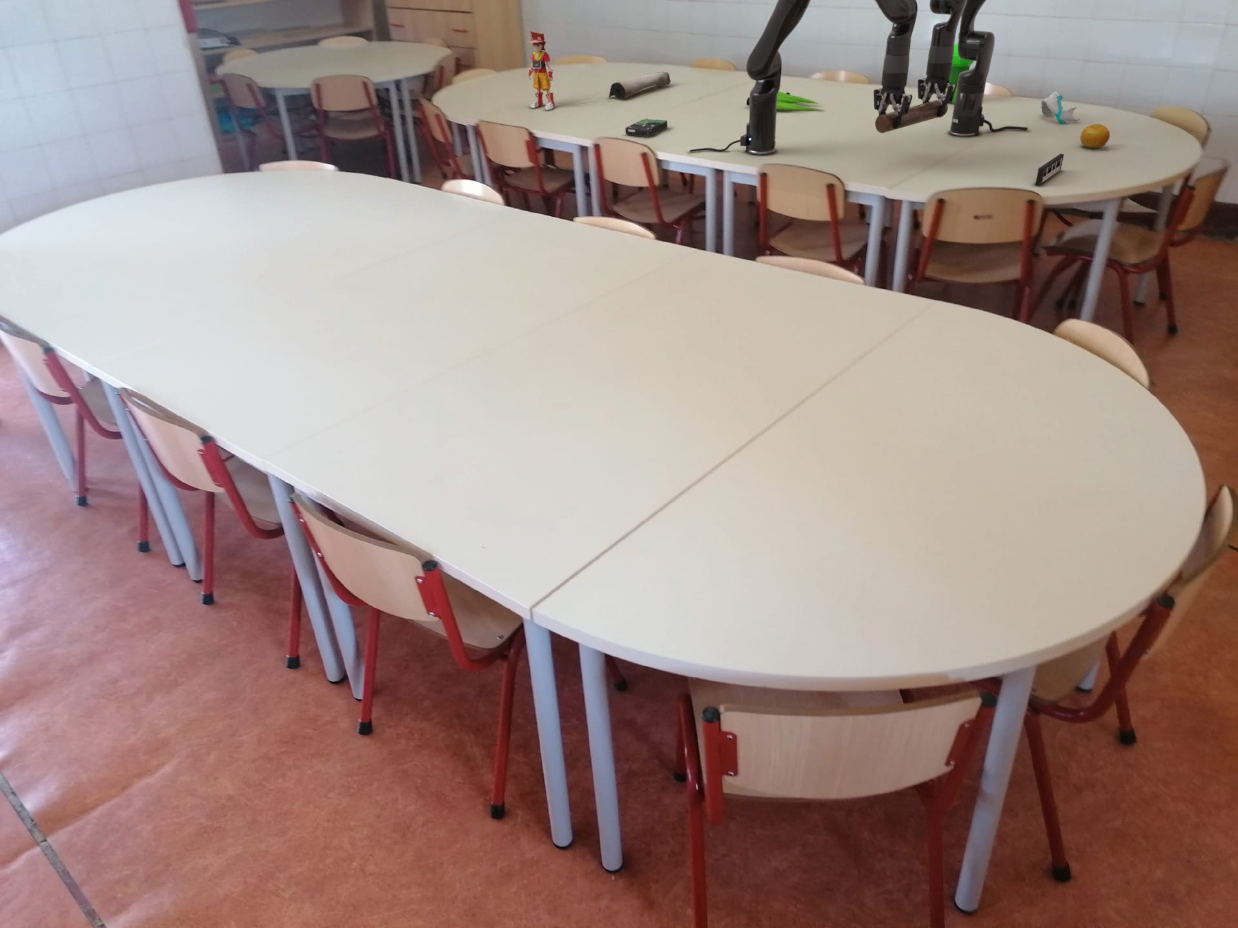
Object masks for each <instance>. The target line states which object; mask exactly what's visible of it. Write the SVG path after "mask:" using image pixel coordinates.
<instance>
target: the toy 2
mask: <svg viewBox="0 0 1238 928" xmlns="http://www.w3.org/2000/svg"><path fill="white" fill-rule="evenodd" d="M745 103H746V106H748V107H749V105H750V96H749V97H747V99H746V102H745ZM799 103H803V104H804V103H805V104H818V105H819V104H820V103H819V102H817V101H815V100H812V99H809V98H805V97H801V96H797V95H793V94H791V93H790V92H785V93H784V91H783V92H782V91H779V92H778V95H777V110H780V111H781V110H782V111H783V110H784V111H821V108H815V107H810V106H804V105H800V104H799Z"/></svg>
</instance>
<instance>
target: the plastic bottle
mask: <svg viewBox="0 0 1238 928" xmlns="http://www.w3.org/2000/svg"><path fill="white" fill-rule="evenodd" d="M957 39H959V34H958V36H957ZM973 63H974V61H970V60H963V59H960V58H959V56H958V42H957V43H956V44H954V55H953V62H952V69H951V74H950V76H949V83H951V84H953V85H954V84H956V85H957V83H958V77H959V74H960V73H961V72H963V71H966V70H970V67H971V65H972V64H973ZM956 90H957V87H956ZM956 90H955V94H954V97H953V100H952V103H951V104H954V103H955V96H956ZM946 91H947V88H946Z"/></svg>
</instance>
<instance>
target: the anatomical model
mask: <svg viewBox="0 0 1238 928" xmlns="http://www.w3.org/2000/svg"><path fill="white" fill-rule="evenodd" d="M1063 99H1064V96H1063V94H1060V93H1059V92H1058V91H1051V93H1050V95H1049V96H1047V97H1044V98H1042V99H1041V102H1040V103H1041V104H1040V105H1041V107H1040V108H1041V113H1042V114H1043V115H1046V116H1047V115H1052V114H1053V115H1054V116H1055V118H1056V120H1057V122H1058V123H1059V124H1066V123H1068V122H1078V121H1080V120H1081V118H1080V117H1079V116H1078V117H1077V116H1074V115H1073V114H1074V111H1076V110H1077V109H1078V108H1077V106H1072V107H1070V108H1068V109H1064V107H1063V105H1062V100H1063Z"/></svg>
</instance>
